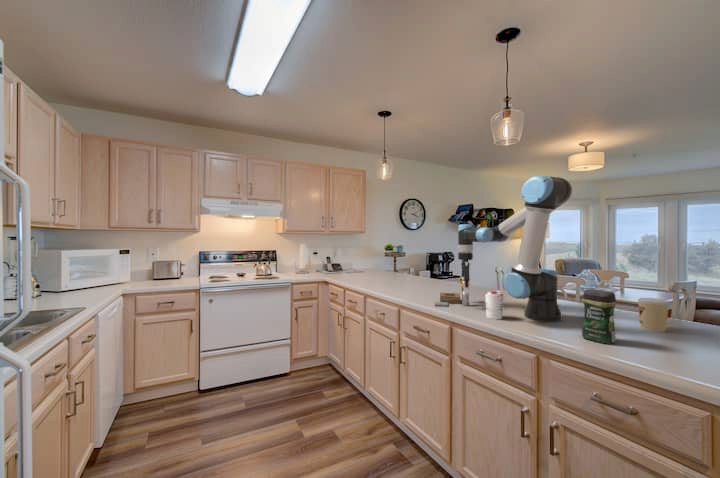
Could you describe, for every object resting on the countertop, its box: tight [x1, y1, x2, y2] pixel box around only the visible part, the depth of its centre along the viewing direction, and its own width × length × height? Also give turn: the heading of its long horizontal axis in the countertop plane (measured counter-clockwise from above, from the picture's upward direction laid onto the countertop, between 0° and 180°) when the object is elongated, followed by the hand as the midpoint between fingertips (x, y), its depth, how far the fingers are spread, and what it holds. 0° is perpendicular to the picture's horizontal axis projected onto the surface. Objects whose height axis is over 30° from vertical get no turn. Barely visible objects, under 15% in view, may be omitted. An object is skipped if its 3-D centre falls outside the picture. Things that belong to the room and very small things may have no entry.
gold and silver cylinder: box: [461, 279, 470, 307], centre depth 174 cm, size 4×4×14 cm
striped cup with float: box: [484, 290, 505, 321], centre depth 149 cm, size 10×8×12 cm
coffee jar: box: [581, 288, 617, 344], centre depth 117 cm, size 10×8×19 cm
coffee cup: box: [637, 297, 670, 333], centre depth 130 cm, size 9×9×12 cm
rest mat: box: [434, 301, 449, 308], centre depth 176 cm, size 7×7×1 cm
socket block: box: [439, 292, 461, 305], centre depth 184 cm, size 11×11×4 cm
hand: (465, 290), depth 174 cm, fingers open, 13 cm apart
